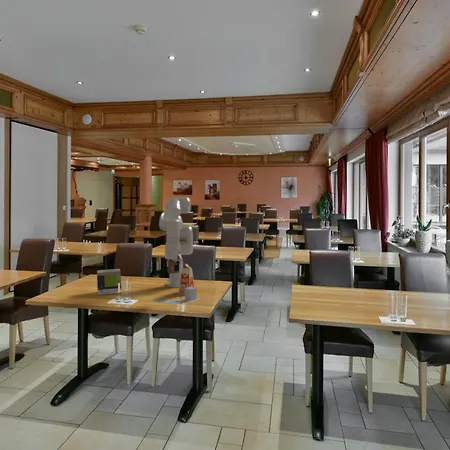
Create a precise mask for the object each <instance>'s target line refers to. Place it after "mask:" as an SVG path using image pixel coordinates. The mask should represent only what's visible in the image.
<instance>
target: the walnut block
mask: <svg viewBox="0 0 450 450" xmlns="http://www.w3.org/2000/svg"><path fill="white" fill-rule="evenodd" d="M176 261H177V260H176ZM166 263H167V264H166V265H167V274H170V273H172V274H175V273H180V270H179V271H176V272H175V269H174V265H175V261H174V260H171V261H166Z"/></svg>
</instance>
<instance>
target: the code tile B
mask: <svg viewBox="0 0 450 450" xmlns="http://www.w3.org/2000/svg"><path fill="white" fill-rule="evenodd" d="M180 300H181V301H184V302H189V303H193V302H196V301H199V300H201V298H197V297H196V300H192V301H189V300H185V297H184V298H181V299H180Z"/></svg>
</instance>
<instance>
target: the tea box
mask: <svg viewBox="0 0 450 450" xmlns="http://www.w3.org/2000/svg"><path fill="white" fill-rule="evenodd" d="M121 273H122V272H121V269H120V268H115V269H114V268H113V269H101V270H100V269H99V270H97V271H96V285H97V286H96V287H97V295H98V296H102V295H113V294H114V295H115V294H116V295H117V294H118V293H117V292H118V283H120V290H121V292H122V275H121Z"/></svg>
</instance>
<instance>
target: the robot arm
mask: <svg viewBox="0 0 450 450" xmlns="http://www.w3.org/2000/svg"><path fill="white" fill-rule="evenodd" d="M164 206H165V210H164V211H163V212H162V213H161V215H160V216H159V223H158V225H159V229H160V231H164V232H165V231H166V242H165V247H164V258H165V260H166V262H167V261H171V260H174V261H175V265H174V269H175V272H176V271H179V270H180V273H175V274H172V273H169V277H168V279H166V282H168V283H167V287H168V288H174V289H175V288H177V289H178V288H179V287H180V277H181V272H182V268H183V267H184V260H183V259H184V258H182V256H183V255H184V256H185V255H187V256H188V255H192V254H193V252H194V233H193V227H192V226H190V225H184V222H183V218H182V216H181V215H182V214H189V213H190V212H191V211H192V203H191V199H190V197H187V196H172V197H171V198H169V200H168V201H167V202H166V203H165V205H164ZM180 240H181V241H180ZM182 240H183V241H182ZM176 260H177V261H176Z"/></svg>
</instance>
